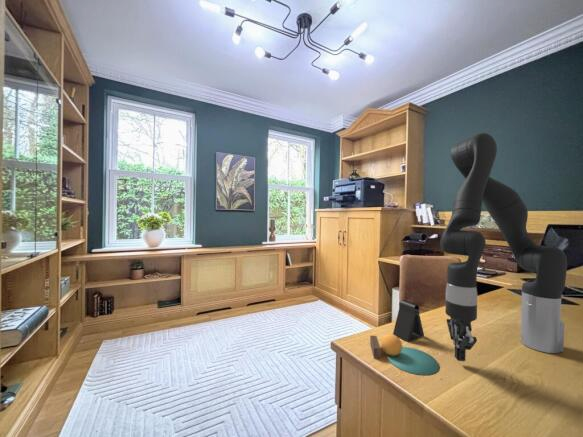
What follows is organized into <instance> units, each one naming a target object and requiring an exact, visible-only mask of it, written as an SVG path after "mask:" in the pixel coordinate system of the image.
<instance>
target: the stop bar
mask: <svg viewBox="0 0 583 437" xmlns="http://www.w3.org/2000/svg"><path fill="white" fill-rule="evenodd" d="M369 338H370V340H369V345H370V348H371V353H372V356H373V359H382V349H381V348H382V347H381V344H380V342H379V339H378V336H377V335H370V337H369Z"/></svg>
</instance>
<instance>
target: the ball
mask: <svg viewBox="0 0 583 437" xmlns="http://www.w3.org/2000/svg"><path fill="white" fill-rule="evenodd" d="M380 342H381V344H380V346H381V348H382V350H383V351H384V353H385V354H386V355H387V354H388V355H391V356H396V355H398V354H399V353H400V352H401V350H402V347H403V343H402V341H401V338H399V337H397V336H395V335H393V333H388V334H385V335H384V336H383V337H382V339H381V341H380Z"/></svg>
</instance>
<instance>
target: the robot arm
mask: <svg viewBox="0 0 583 437" xmlns="http://www.w3.org/2000/svg"><path fill="white" fill-rule="evenodd" d="M497 149H498V147H497V142H496V141H495V139H494V137H493V136H491V134H489V133H486V132H481V133H478V134H476V135H472V136H471V137H469V138H467V139H464V140H462V141H460V142H458V143H456V144H454V145H453V146H452V147H451V149H450V154H449V155H450V158H451V160H452V162H453V164H454V166H455V168H456V169H457V170H458V172H460V174H461V175H462V176H463V178H464V179H465V180H464V181H463V183H462V184H461V186H460V187H459V188H458V190H457V191H456V192H457V193H456V194H455V196H454V199H453V204H452V213H451V216H450V219H449V221H448V223H447V226H446V227H445V229H444V231H443V233H442V234H441V236H440V242H439V244H440V248H441V250H442V251H443V253H445V254H449V255H456V256H457V255H458V256H465V257H467V260H465V261H460V262H452V263H451V262H450V263H449V264H447V268H446V270H447V271H446V273H447V274H446V287H445V314H446V315H447V316H448V317H449V318H446V324H447V327H448V332H449V336H450V340H451V341H452V342H453V345H454V358H455V359H456V360H457V362H465V361H466V355H467V354H466V353H467V352H466V350H467V351H470V350H472V348H473V347H474V346H475V344H476V343H477V341H478V340H477V337H476V336H473V335H472V322H473V321H476V320H477V319H478V289H477V283H478V282H477V278H478V276H477V274H478V267H479V264H480V261H481V257H482V255H483V253H484V250H485V248H486V243H487V242H486V238H485V236H484V235H483V234H482V233H481V232H479V231H475V230H462V229H464V228H470V227H476V226H477V225H478V224H480V222H481V221H480V220H481V214H482V206H484V207H485V209H486V211H487V212H488V214H489V216H490V217H491V219H492V220H493V221H494V223H495V225H496V226H497V227H498V229H499V231H500V233H501V234H502V236H503V237H504V239H505V241H506V243H507V244H508V247H509V249H510V251H511V253H512V256H513V258H514V259H515V261H516V263H517V264H518V266H519V267H520V268H522V269H523V270H525V271H527V272H531V273H535V274H536V275H535V280H534V281H526V282H525V281H524V282H523V283H522V284H521V315H520V316H521V318H520V320H521V321H520V343H522V344H523V345H524V346H526V347H528V348H530V349H533V350H535V351H539V352H542V353H547V354H559V353H564V351H565V322H564V321H563V320H561V319H562V318H561V317H562V294H563V292H564V289H565V287H566V279H567V278H566V277H567V273H568V272H567V270H568V259H567V256H566V253H565V252H564V251H563V250H562V249H561V248H558V247H554V246H549V245H548V246H547V245H540V244H536V243H535V242H534V240H533V238H531V236H530V234H529V233H528V231H527V223H528V217H529V213H528V212H529V211H528V208H527V206H526V204H525V203H524V201H523V200H522V197H521V196H520V195H519V193H518V192H517V191H516V190H514V188H512V187H510V186H509V185H507V184H505V183H503V182H501V181H498V180H496V179H495V178H492V177H491V176H490V175H491V173H492V169H493V166H494V163H495V160H496V157H497V152H498V150H497Z"/></svg>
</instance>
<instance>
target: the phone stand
mask: <svg viewBox="0 0 583 437" xmlns="http://www.w3.org/2000/svg"><path fill="white" fill-rule="evenodd" d="M394 324H395V325H394V328H393V332H392V334H393V335H395V336H397V337H398V338H399V339H400V340H403V341H405V342H407V343H410V342H413V341H415V340H418V339H421V338H423V337H425V333H424V329H423V324H422V320H421V314H420V305H419V304H416V303H414V302H410V301H408V300H405V299H401V300H400V301H399V303H398V311H397V316H396V321H395V323H394Z"/></svg>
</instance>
